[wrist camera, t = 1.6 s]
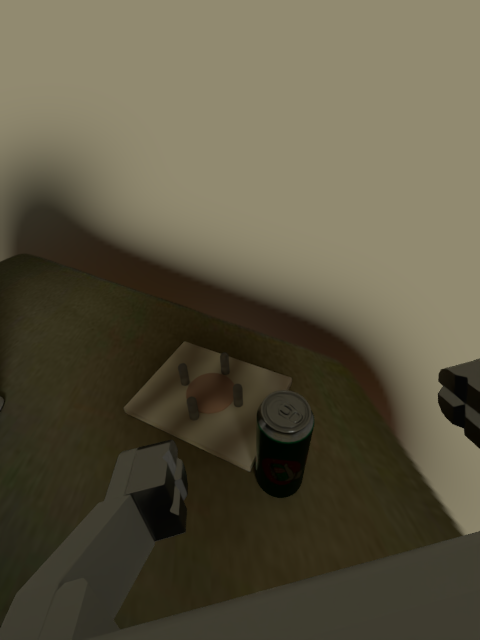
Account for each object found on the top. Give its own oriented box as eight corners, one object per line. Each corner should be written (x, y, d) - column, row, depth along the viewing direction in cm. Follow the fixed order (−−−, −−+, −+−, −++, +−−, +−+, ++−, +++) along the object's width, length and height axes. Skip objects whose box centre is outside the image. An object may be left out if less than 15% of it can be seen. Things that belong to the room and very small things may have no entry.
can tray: (125, 412, 42) (115, 390, 39) (185, 345, 51) (181, 323, 49) (249, 472, 35) (249, 450, 32) (291, 382, 45) (294, 359, 42)
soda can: (275, 445, 38) (281, 377, 30) (311, 474, 35) (327, 408, 27) (246, 476, 35) (244, 410, 27) (282, 511, 32) (291, 448, 25)
